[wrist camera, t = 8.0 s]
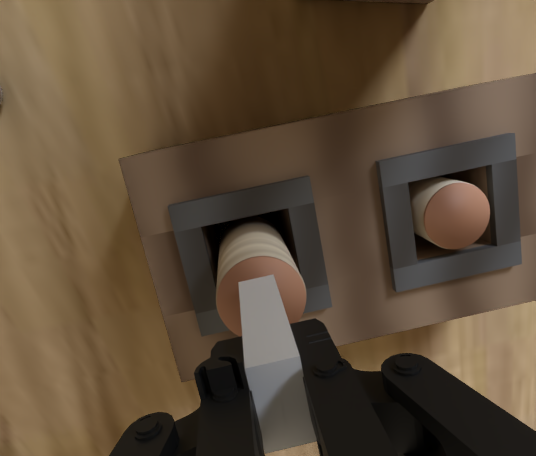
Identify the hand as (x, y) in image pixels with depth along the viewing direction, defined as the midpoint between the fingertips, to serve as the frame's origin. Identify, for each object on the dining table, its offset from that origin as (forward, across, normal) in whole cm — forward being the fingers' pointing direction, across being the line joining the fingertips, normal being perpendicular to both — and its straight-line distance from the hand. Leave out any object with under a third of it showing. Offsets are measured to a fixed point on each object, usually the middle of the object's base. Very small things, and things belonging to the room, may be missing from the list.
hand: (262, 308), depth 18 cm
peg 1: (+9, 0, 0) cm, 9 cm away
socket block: (+15, +6, 0) cm, 16 cm away
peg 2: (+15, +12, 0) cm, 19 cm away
